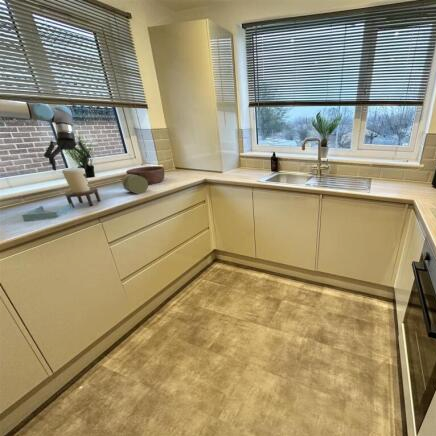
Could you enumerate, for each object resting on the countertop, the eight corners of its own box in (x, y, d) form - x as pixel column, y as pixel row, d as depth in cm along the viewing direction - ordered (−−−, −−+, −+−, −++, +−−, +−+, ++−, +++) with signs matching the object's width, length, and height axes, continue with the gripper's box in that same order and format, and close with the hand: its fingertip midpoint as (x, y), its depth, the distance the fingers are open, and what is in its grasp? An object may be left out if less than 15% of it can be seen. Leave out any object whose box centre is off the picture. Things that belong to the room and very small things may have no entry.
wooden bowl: (169, 182, 181) (166, 169, 177) (130, 188, 168) (126, 173, 164) (164, 177, 200) (161, 165, 196) (129, 181, 187) (125, 168, 184)
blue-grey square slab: (24, 220, 114) (21, 215, 113) (43, 211, 126) (40, 206, 125) (58, 217, 117) (55, 211, 116) (73, 208, 129) (71, 203, 128)
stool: (64, 209, 128) (58, 195, 125) (78, 202, 140) (73, 188, 137) (94, 206, 131) (89, 192, 128) (105, 199, 144) (101, 186, 141)
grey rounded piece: (141, 188, 166) (137, 172, 162) (149, 191, 159) (145, 174, 155) (123, 192, 157) (118, 175, 153) (131, 195, 151) (126, 177, 147)
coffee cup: (94, 189, 134) (87, 168, 129) (73, 194, 127) (65, 171, 122) (87, 187, 139) (80, 167, 134) (67, 191, 131) (58, 170, 127)
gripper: (94, 137, 147) (98, 170, 146) (39, 136, 136) (43, 172, 135) (90, 131, 141) (95, 166, 139) (32, 130, 129) (37, 168, 128)
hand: (70, 169), depth 137 cm, fingers open, 13 cm apart
